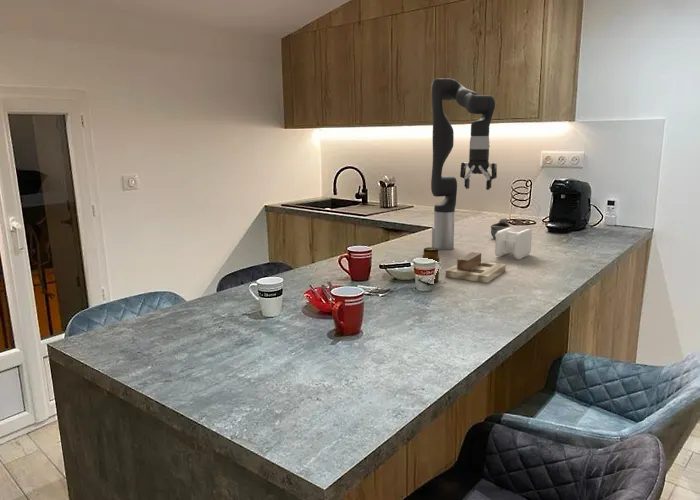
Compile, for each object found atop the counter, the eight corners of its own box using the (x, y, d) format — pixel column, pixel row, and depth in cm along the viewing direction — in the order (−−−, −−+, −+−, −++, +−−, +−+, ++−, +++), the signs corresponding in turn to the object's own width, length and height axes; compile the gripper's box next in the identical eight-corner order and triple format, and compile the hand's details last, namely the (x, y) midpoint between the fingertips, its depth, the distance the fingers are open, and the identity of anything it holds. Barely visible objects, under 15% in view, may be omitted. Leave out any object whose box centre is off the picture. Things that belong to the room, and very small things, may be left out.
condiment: (432, 277, 195) (433, 245, 192) (446, 282, 188) (447, 250, 185) (416, 279, 192) (416, 247, 189) (429, 285, 185) (430, 252, 182)
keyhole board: (445, 276, 195) (445, 270, 195) (465, 265, 211) (466, 259, 211) (487, 283, 186) (487, 276, 186) (505, 270, 203) (505, 264, 202)
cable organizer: (517, 261, 217) (518, 233, 214) (493, 258, 223) (494, 231, 221) (531, 254, 228) (532, 228, 225) (507, 251, 234) (509, 226, 232)
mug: (488, 240, 259) (489, 220, 257) (491, 235, 270) (492, 216, 268) (508, 241, 256) (509, 221, 253) (511, 236, 267) (512, 217, 265)
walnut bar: (456, 274, 196) (457, 259, 194) (470, 266, 207) (471, 252, 206) (467, 276, 194) (467, 260, 192) (480, 268, 205) (481, 253, 204)
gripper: (458, 148, 207) (457, 189, 211) (493, 148, 199) (491, 191, 203) (465, 147, 213) (464, 187, 217) (500, 147, 205) (498, 189, 209)
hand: (477, 189), depth 210 cm, fingers open, 8 cm apart
